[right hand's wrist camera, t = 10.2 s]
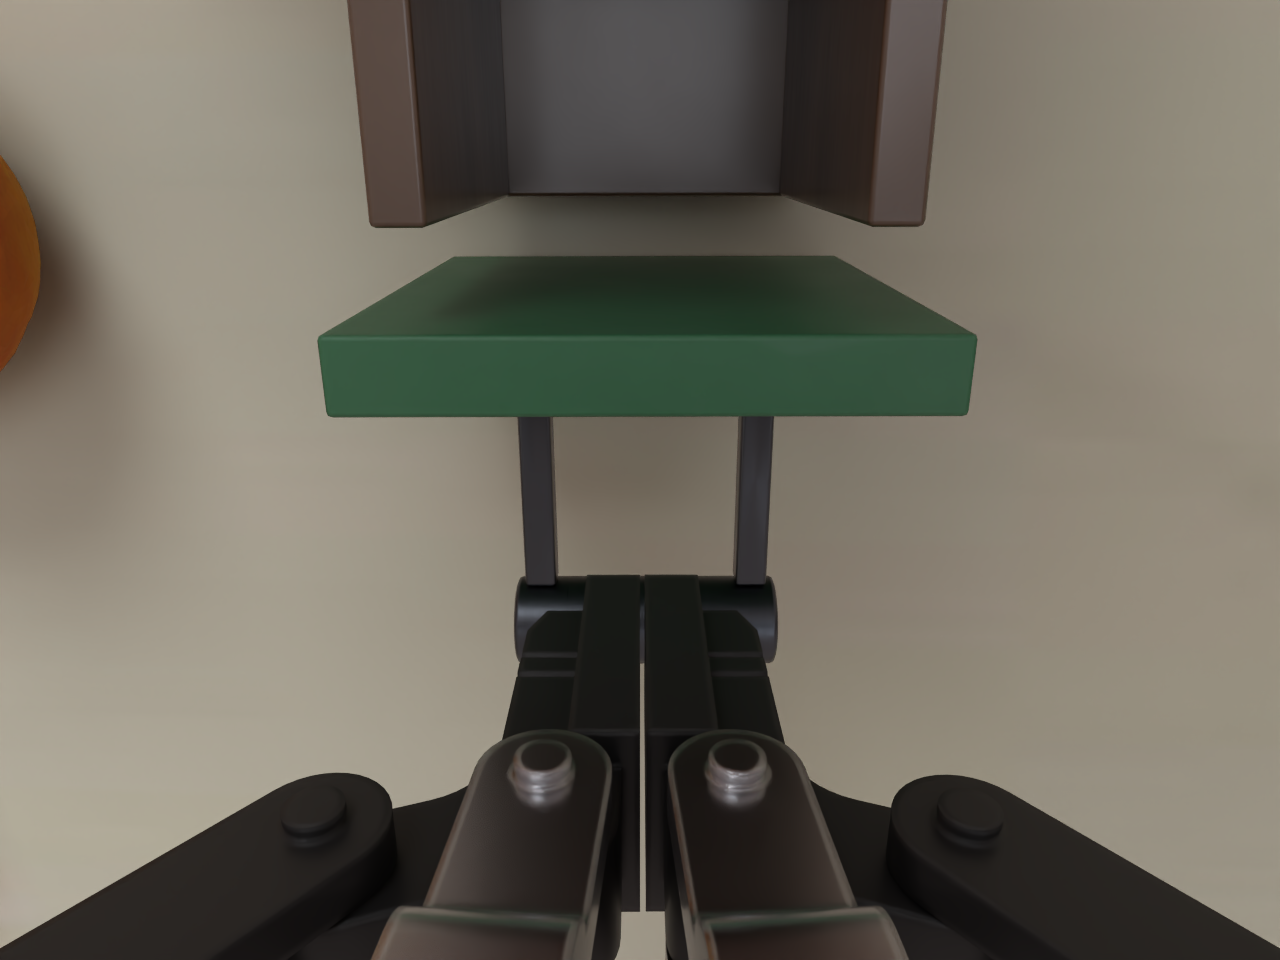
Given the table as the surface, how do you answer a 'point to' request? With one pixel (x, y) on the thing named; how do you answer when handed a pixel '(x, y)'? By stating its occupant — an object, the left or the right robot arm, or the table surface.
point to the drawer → (647, 285)
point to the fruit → (16, 263)
